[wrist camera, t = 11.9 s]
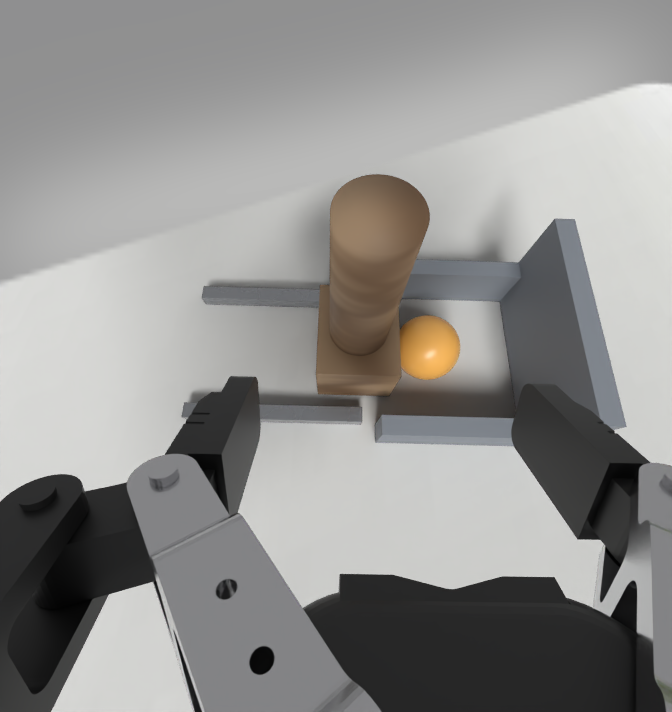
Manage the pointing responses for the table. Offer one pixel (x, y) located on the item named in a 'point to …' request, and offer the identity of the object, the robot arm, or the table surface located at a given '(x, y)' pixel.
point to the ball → (428, 347)
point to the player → (367, 284)
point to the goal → (522, 335)
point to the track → (290, 300)
